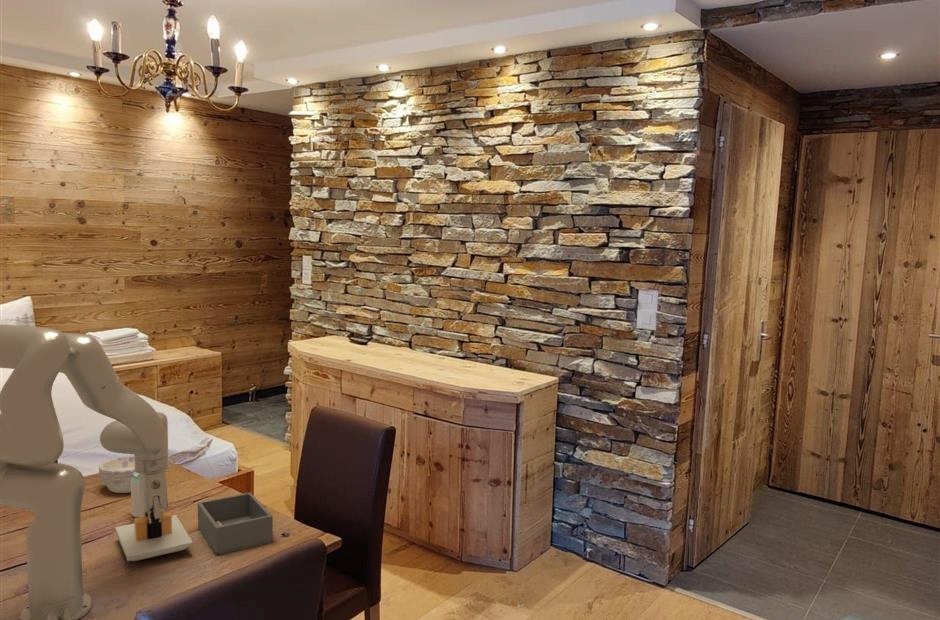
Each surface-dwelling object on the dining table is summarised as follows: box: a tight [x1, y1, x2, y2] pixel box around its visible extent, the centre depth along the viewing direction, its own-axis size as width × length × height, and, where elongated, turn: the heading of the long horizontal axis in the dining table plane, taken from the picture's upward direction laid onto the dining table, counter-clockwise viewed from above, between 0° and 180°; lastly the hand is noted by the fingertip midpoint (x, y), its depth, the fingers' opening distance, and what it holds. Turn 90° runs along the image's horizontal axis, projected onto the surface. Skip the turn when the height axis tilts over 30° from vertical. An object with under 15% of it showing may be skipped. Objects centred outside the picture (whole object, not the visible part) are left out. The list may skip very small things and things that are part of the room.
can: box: [130, 472, 145, 518], centre depth 187 cm, size 7×7×12 cm
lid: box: [114, 511, 194, 562], centre depth 168 cm, size 18×14×6 cm
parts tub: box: [197, 492, 274, 556], centre depth 177 cm, size 18×14×7 cm
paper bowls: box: [98, 455, 135, 494], centre depth 205 cm, size 15×15×8 cm
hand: (153, 533), depth 168 cm, fingers closed on lid, 3 cm apart
